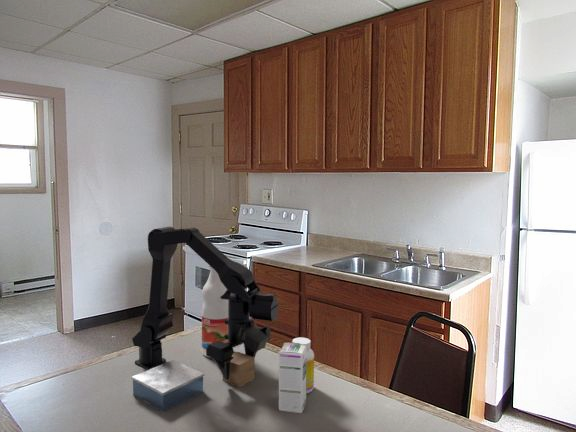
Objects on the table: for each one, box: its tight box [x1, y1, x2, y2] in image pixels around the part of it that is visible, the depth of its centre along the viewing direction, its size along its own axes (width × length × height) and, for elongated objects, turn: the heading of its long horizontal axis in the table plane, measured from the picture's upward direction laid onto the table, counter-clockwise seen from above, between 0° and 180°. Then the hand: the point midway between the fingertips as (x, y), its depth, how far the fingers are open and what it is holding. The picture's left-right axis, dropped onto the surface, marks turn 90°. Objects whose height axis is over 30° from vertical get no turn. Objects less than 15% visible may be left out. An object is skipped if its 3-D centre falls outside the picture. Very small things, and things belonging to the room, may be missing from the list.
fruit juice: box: [201, 264, 229, 359], centre depth 130 cm, size 9×9×28 cm
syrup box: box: [278, 342, 307, 414], centre depth 101 cm, size 6×6×14 cm
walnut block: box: [222, 351, 256, 388], centre depth 114 cm, size 6×6×6 cm
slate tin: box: [131, 360, 205, 413], centre depth 106 cm, size 12×12×5 cm
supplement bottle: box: [291, 336, 315, 395], centre depth 109 cm, size 7×7×13 cm
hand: (238, 372), depth 114 cm, fingers open, 9 cm apart
